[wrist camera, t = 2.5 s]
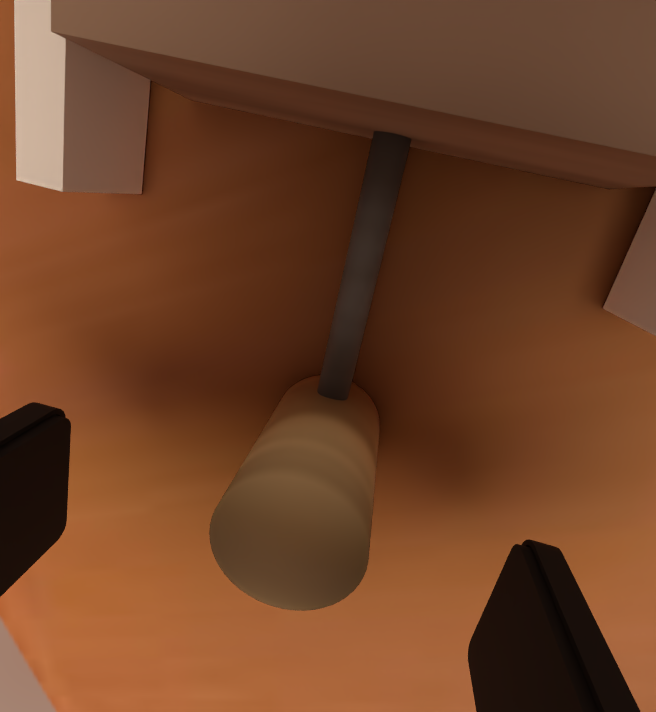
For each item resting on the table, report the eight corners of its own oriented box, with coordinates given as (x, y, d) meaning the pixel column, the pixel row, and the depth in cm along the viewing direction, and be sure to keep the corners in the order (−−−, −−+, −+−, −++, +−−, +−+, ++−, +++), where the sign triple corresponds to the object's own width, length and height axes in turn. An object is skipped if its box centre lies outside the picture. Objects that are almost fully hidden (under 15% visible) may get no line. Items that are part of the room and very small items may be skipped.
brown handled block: (247, -451, 8) (8, -1492, 3) (828, -381, 8) (1703, -1568, 2) (165, 419, 14) (37, 537, 9) (481, 503, 14) (529, 680, 9)
